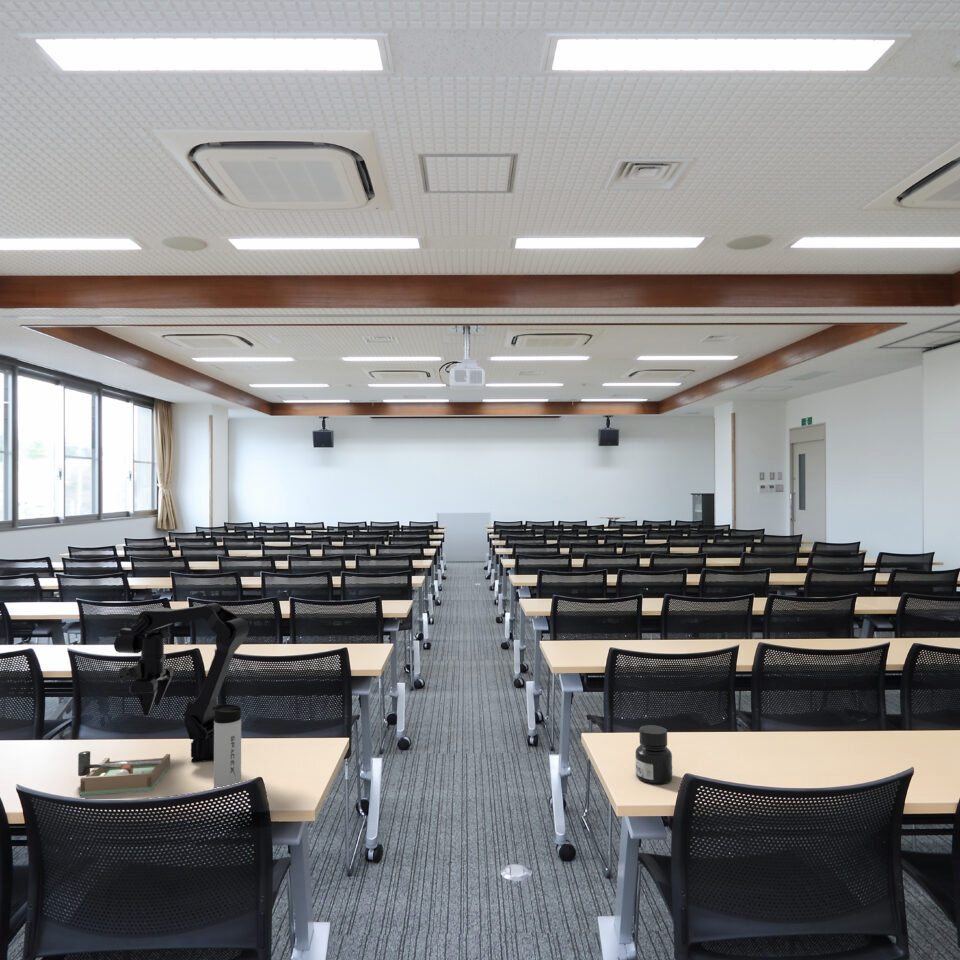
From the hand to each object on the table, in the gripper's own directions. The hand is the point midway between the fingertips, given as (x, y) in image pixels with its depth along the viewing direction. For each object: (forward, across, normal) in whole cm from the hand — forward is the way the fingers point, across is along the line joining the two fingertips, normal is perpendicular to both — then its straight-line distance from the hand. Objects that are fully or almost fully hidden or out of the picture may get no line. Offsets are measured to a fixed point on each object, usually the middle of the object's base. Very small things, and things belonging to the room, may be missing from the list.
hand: (152, 709), depth 188 cm
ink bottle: (+12, +40, +131) cm, 138 cm away
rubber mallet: (+11, +19, -1) cm, 22 cm away
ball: (+10, +22, 0) cm, 24 cm away
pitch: (+12, +18, 0) cm, 22 cm away
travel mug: (+12, +28, +26) cm, 40 cm away
